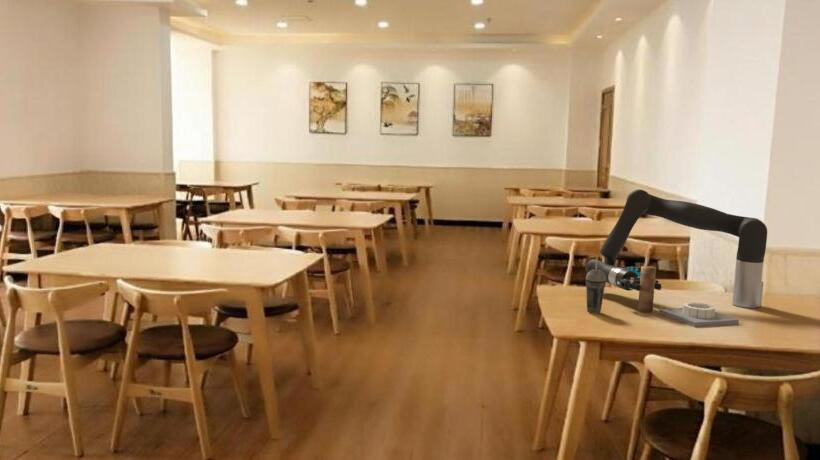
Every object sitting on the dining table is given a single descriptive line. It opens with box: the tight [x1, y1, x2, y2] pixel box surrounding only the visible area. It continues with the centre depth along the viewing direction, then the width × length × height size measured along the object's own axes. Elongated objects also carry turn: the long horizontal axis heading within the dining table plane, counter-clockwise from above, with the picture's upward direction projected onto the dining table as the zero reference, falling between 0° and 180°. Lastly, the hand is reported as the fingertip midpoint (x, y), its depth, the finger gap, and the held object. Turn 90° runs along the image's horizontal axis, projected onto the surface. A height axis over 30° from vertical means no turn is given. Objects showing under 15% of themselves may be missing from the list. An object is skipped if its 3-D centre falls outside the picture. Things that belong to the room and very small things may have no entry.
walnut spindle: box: [637, 265, 657, 314], centre depth 243 cm, size 5×5×16 cm
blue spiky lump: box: [625, 265, 641, 277], centre depth 290 cm, size 11×6×10 cm
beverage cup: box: [585, 256, 607, 315], centre depth 238 cm, size 7×7×20 cm
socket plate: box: [658, 302, 740, 328], centre depth 235 cm, size 18×18×4 cm
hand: (650, 287), depth 241 cm, fingers open, 8 cm apart
